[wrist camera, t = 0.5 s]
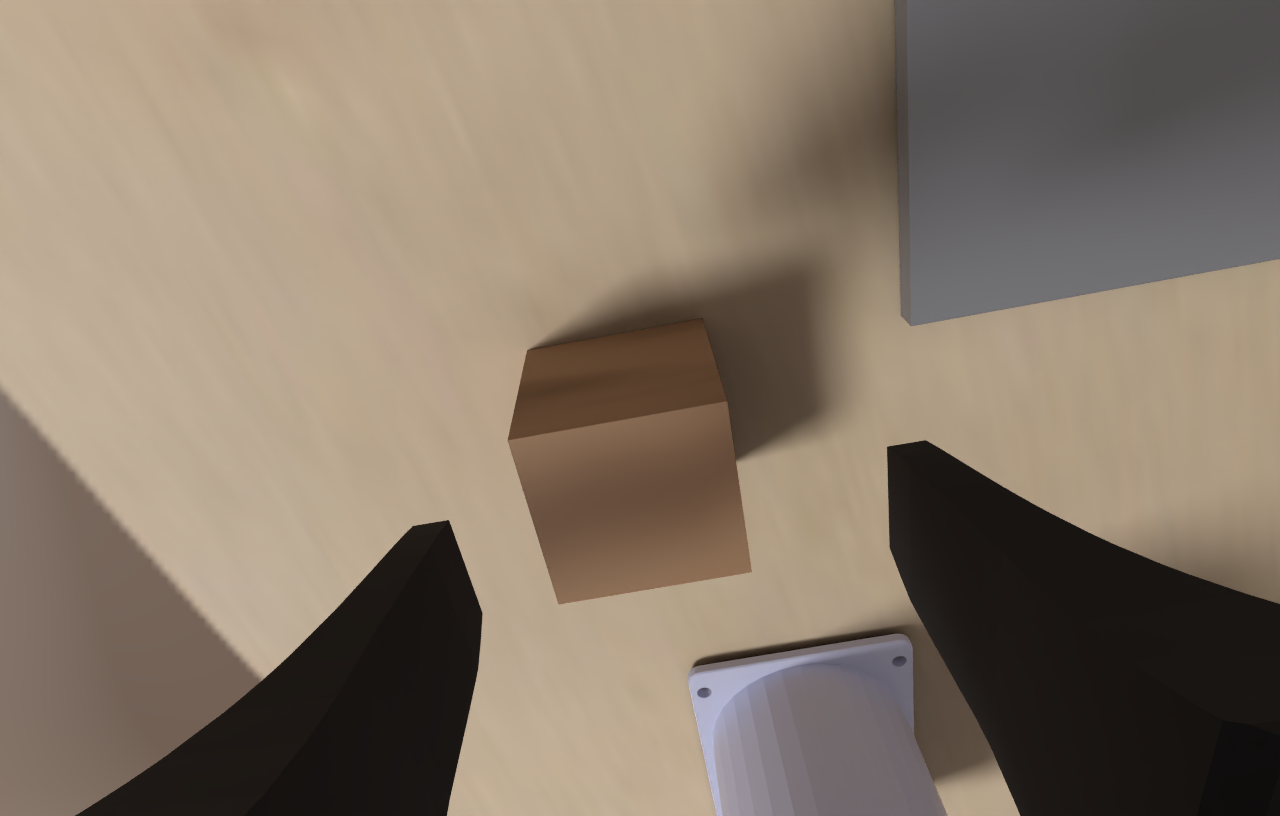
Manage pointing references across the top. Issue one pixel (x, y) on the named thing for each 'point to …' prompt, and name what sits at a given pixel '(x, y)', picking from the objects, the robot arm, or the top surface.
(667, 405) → the walnut cube
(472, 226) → the top surface
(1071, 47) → the coaster
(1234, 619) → the robot arm
